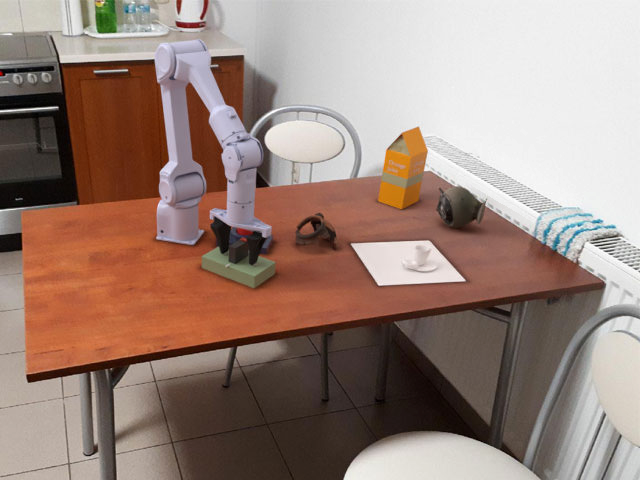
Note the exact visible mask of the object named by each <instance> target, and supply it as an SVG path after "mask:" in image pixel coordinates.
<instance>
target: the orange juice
mask: <svg viewBox="0 0 640 480" xmlns="http://www.w3.org/2000/svg"><path fill="white" fill-rule="evenodd" d="M428 152H429V150H428V147H427V144H426V141H425V140H424V136H423V134H422V131H421V129H420V126H416V127H414V128H411V129H408V130H406V131H403V132H401V133H400V134H399V135H398V136H397V138H396V139H394V141H393V142H392V143H391V144H390V145H389V146H388V147H387V148H386V150H385V155H384V162H383V168H382V173H381V179H380V185H379V192H378V198H377V202H379V203H382V204H385V205H387V206H390V207H394V208H397V209H399V210H403V209H405V208H407V207H409V206H412V205H413V204H416V203H417V202H419V199H420V194H421V189H422V183H423V179H424V173H425V169H426V163H427V158H428Z"/></svg>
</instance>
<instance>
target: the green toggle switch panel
mask: <svg viewBox="0 0 640 480" xmlns="http://www.w3.org/2000/svg"><path fill="white" fill-rule="evenodd" d="M229 246H230V245H229ZM228 261H229V251H228V252H226V253H224V254H221V253H220V249H219V247H215V248H213V249H211V250H210V251H208V252H206V253H205V254H203V255H202V256H201V268H202V269H203V270H206V271H209V272H211V273H214V274H216V275H219V276H221V277H224V278H226V279H228V280H232V281H234V282H237V283H239V284H242V285H243V286H248V287H250V288H252V289H256V288H257V287H259V286H260V285H261V284H263V283H265V281H268V279H270V278H271V277H273V276H274V275H275V274H276V264H277V262H276V261H274V260H271V259H268V258H265V257H262V256H260V255H259V257H258V260H257V262H256V263H255V264H253V265H250V264H249V256H247V257H246V258H244V259H243V260H241V261H239V262H238V263H236V264H233V263H231V262H228Z"/></svg>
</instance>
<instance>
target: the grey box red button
mask: <svg viewBox="0 0 640 480" xmlns="http://www.w3.org/2000/svg"><path fill="white" fill-rule="evenodd" d="M247 236H249V235H240V234H238V233H237V228H236V227H231V232H230V242H229V245H231V244H233V243H235V242H237V241H238V240H240V239H241V238H242V237H243V238H247ZM273 243H274V235H272V234H271V235H270V236H269V237H268V238H267V240H266V241H265V243H264V245H263V247H262V249H261V251H260V254H259V255H265V256H266V255H267V254H268V252H269V251H270V248H271V247H272V244H273ZM215 244H216V247H215V248H217V247H219V245H218V242H217V239H216V243H215Z"/></svg>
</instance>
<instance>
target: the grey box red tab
mask: <svg viewBox="0 0 640 480" xmlns="http://www.w3.org/2000/svg"><path fill="white" fill-rule="evenodd" d="M247 256H249V246H248V242H247V239H246V238H243V237H242V238H241V239H240V240H238V241H237V242H235V243H233V244H231V245H230V246H229V261H228V262H231V263H233V264H236V263H238V262H239V261H241V260H243V259H244V258H246V257H247Z"/></svg>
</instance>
